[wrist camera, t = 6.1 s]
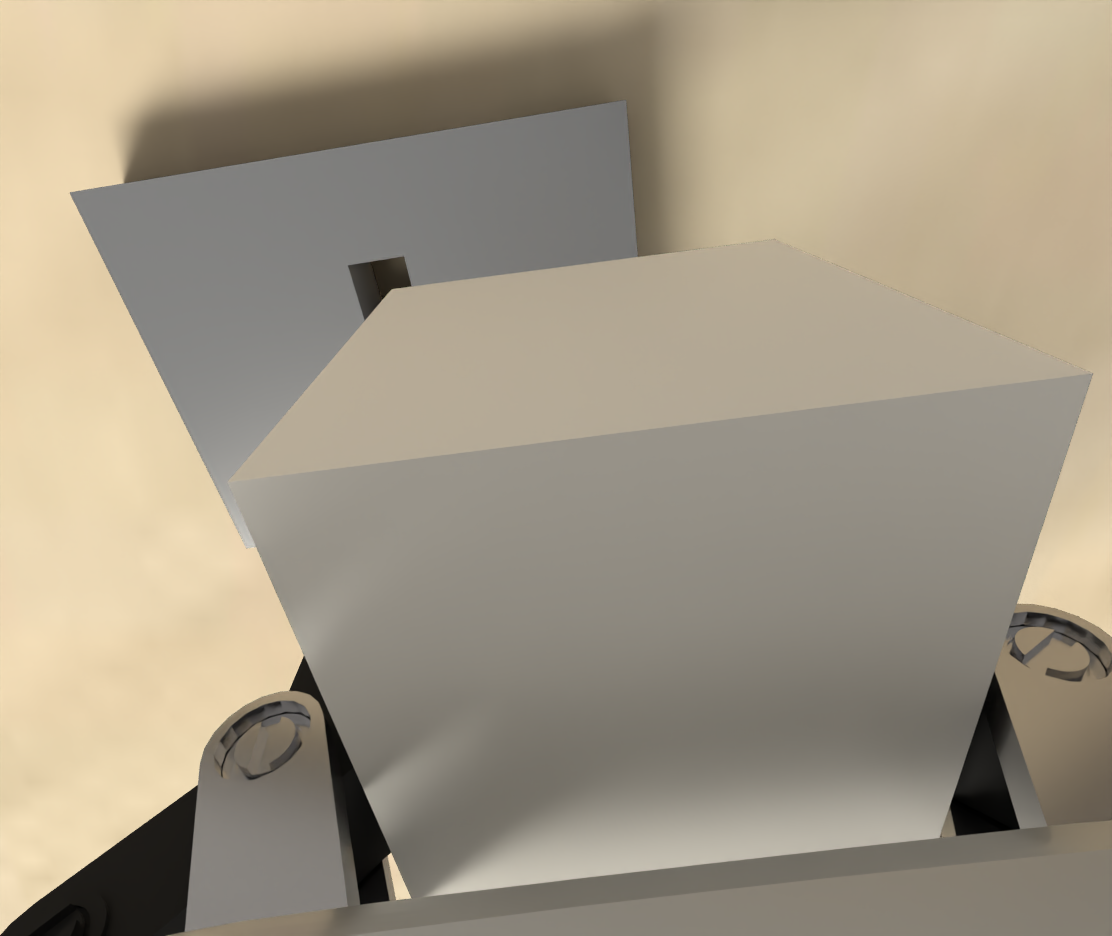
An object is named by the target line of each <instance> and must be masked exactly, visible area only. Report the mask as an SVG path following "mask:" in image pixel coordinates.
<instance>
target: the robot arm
mask: <svg viewBox="0 0 1112 936" xmlns="http://www.w3.org/2000/svg"><path fill="white" fill-rule="evenodd" d="M942 837H943V838H935V839H926V840H916V841H907V842H898V843H889V844H879V845H870V846H861V847H852V848H843V849H834V850H825V851H816V852H807V853H798V854H789V855H781V856H772V857H763V858H754V859H745V860H736V861H727V862H719V863H710V864H701V865H692V866H684V867H675V868H666V869H657V870H649V871H640V872H631V873H622V874H614V875H605V876H596V877H588V878H579V879H571V880H562V881H554V882H546V883H537V884H529V885H520V886H512V887H504V888H495V889H487V890H479V891H470V892H462V893H453V894H445V895H437V896H428V897H420V898H412V899H403V900H396V897H395V892H394V887H393V882H392V877H391V872H390V867H389V861H388V855H389V854H390V853H391V851H390V848H389V846H388V844H387V842H386V839H385V837H384V835H383V833H382V830H381V828H380V826H379V824H378V821H377V819H376V817H375V814H374V812H373V810H372V808H371V805H370V803H369V801H368V799H367V796H366V794H365V792H364V790H363V787H362V785H361V783H360V781H359V778H358V776H357V774H356V772H355V769H354V767H353V765H352V763H351V760H350V758H349V756H348V753H347V751H346V749H345V747H344V744H343V742H342V740H341V738H340V735H339V733H338V731H337V729H336V726H335V724H334V722H333V720H332V717H331V715H330V713H329V711H328V708H327V706H326V704H325V702H324V699H323V697H322V695H321V692H320V690H319V688H318V686H317V683H316V681H315V679H314V677H313V674H312V672H311V670H310V668H309V665H308V663H307V661H306V659H305V656H304V657H303V659H302V662H301V664H300V667H299V669H298V671H297V674H296V676H295V678H294V681H293V683H292V686H291V688H290V690H289V691H286V692H278V693H274V694H270V695H267V696H263V697H261V698H259V699H257V700H255V701H253V702H251V703H249V704H247V705H245V706H244V707H242V708H241V709H239V710H238V711H237V712H235V713H234V714H233V715H231V716H230V717H229V718H227V720H226V721H225V722H224V723H223V724H222V725H221V726H220V727H219V728H218V729H217V730H216V731H215V732H214V734H213V735H212V737H211V738H210V740H209V742H208V743H207V745H206V747H205V748H204V752H203V755H202V759H201V762H200V769H199V780H198V785H197V786H196V787H194V788H193V789H192V790H190V791H189V792H188V793H186V794H185V795H183V796H182V797H181V798H179V799H178V800H177V801H175V802H174V803H172V804H171V805H170V806H168V807H167V808H166V809H164V810H163V811H161V812H160V813H159V814H157V815H156V816H155V817H153V818H152V819H150V820H149V821H148V822H146V823H145V824H144V825H142V826H141V827H139V828H138V829H137V830H135V831H134V832H132V833H131V834H130V835H128V836H127V837H126V838H124V839H123V840H121V841H120V842H119V843H117V844H116V845H115V846H113V847H112V848H110V849H109V850H108V851H106V852H105V853H104V854H102V855H101V856H99V857H98V858H97V859H95V860H94V861H93V862H91V863H90V864H88V865H87V866H86V867H84V868H83V869H82V870H80V871H79V872H77V873H76V874H75V875H73V876H72V877H71V878H69V879H68V880H66V881H65V882H64V883H62V884H61V885H60V886H58V887H57V888H55V889H54V890H53V891H51V892H50V893H49V894H47V895H46V896H44V897H43V898H42V899H40V900H39V901H38V902H36V903H35V904H34V905H32V906H31V907H30V908H29V909H28V910H26V911H25V912H24V913H23V914H22V915H20V916H19V917H18V918H17V919H16V920H15V921H13V922H12V923H11V924H10V925H9V926H8V927H7V928H6V929H5V931H4V932H3V933H2V934H1V935H0V936H1112V637H1111V636H1110V635H1108V634H1107V633H1106V632H1104V631H1103V630H1102V629H1100V628H1099V627H1097V626H1095V625H1094V624H1092V623H1090V622H1088V621H1086V620H1084V619H1082V618H1080V617H1078V616H1076V615H1073V614H1070V613H1067V612H1064V611H1061V610H1058V609H1056V608H1050V607H1045V606H1040V605H1035V604H1017V605H1016V608H1015V611H1014V614H1013V617H1012V620H1011V623H1010V626H1009V629H1008V632H1007V635H1006V638H1005V641H1004V644H1003V647H1002V650H1001V653H1000V656H999V659H998V662H997V665H996V668H995V671H994V674H993V677H992V680H991V683H990V686H989V689H988V692H987V695H986V698H985V701H984V704H983V707H982V710H981V713H980V716H979V719H978V722H977V725H976V728H975V731H974V734H973V737H972V740H971V743H970V746H969V749H968V752H967V755H966V758H965V761H964V765H963V768H962V771H961V774H960V777H959V780H958V783H957V786H956V789H955V792H954V795H953V798H952V801H951V804H950V807H949V810H948V813H947V816H946V819H945V822H944V825H943V828H942Z"/></svg>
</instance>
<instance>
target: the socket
mask: <svg viewBox="0 0 1112 936" xmlns="http://www.w3.org/2000/svg"><path fill="white" fill-rule="evenodd" d="M70 195H71V197H72V199H73V201H74V203H75V205H76V207H77V209H78V211H79V213H80V215H81V217H82V219H83V221H84V223H85V225H86V227H87V229H88V231H89V233H90V235H91V237H92V239H93V241H94V243H95V245H96V247H97V249H98V251H99V253H100V255H101V257H102V259H103V261H104V263H105V265H106V267H107V269H108V271H109V273H110V275H111V277H112V279H113V281H114V283H115V285H116V287H117V289H118V291H119V293H120V295H121V297H122V299H123V301H124V303H125V305H126V307H127V309H128V311H129V313H130V315H131V317H132V319H133V321H134V323H135V325H136V327H137V329H138V331H139V333H140V335H141V337H142V339H143V341H144V343H145V345H146V347H147V349H148V351H149V353H150V355H151V357H152V359H153V361H154V363H155V366H156V368H157V370H158V372H159V374H160V376H161V378H162V380H163V382H164V384H165V386H166V388H167V390H168V392H169V394H170V396H171V398H172V400H173V402H174V404H175V406H176V408H177V410H178V412H179V414H180V416H181V418H182V420H183V422H184V424H185V426H186V428H187V430H188V432H189V434H190V436H191V438H192V440H193V442H194V444H195V446H196V448H197V450H198V452H199V454H200V456H201V458H202V460H203V462H204V464H205V466H206V468H207V470H208V472H209V474H210V476H211V478H212V480H213V482H214V484H215V486H216V488H217V490H218V492H219V494H220V496H221V498H222V500H223V502H224V504H225V506H226V508H227V510H228V512H229V514H230V516H231V518H232V520H233V522H234V524H235V526H236V528H237V530H238V532H239V534H240V536H241V539H242V541H243V543H244V545H245V547H246V548H252V547H256V546H255V543H254V541H253V539H252V537H251V534H250V532H249V530H248V528H247V525H246V523H245V521H244V519H243V516H242V514H241V512H240V510H239V507H238V505H237V503H236V500H235V498H234V496H233V494H232V491H231V489H230V487H229V485H228V481H229V480H230V479H231V477H232V476H233V475H234V474H235V473H236V472H237V470H238V469H239V468H240V467H241V466H242V465H243V463H244V462H245V461H246V460H247V459H248V458H249V456H250V455H251V454H252V453H253V452H254V450H255V449H256V448H257V447H258V446H259V445H260V443H261V442H262V441H263V440H264V439H265V438H266V436H267V435H268V434H269V433H270V432H271V430H272V429H273V428H274V427H275V426H276V425H277V423H278V422H279V421H280V420H281V419H282V418H283V416H284V415H285V414H286V413H287V412H288V410H289V409H290V408H291V407H292V406H293V405H294V403H295V402H296V401H297V400H298V399H299V398H300V396H301V395H302V394H303V393H304V392H305V391H306V389H307V388H308V387H309V386H310V385H311V383H312V382H313V381H314V380H315V379H316V378H317V376H318V375H319V374H320V373H321V372H322V371H323V369H324V368H325V367H326V366H327V365H328V364H329V362H330V361H331V360H332V359H333V358H334V356H335V355H336V354H337V353H338V352H339V351H340V349H341V348H342V347H343V346H344V345H345V344H346V342H347V341H348V340H349V339H350V338H351V336H352V335H353V334H354V333H355V332H356V331H357V329H358V328H359V327H360V326H361V325H362V324H363V322H364V321H365V320H366V319H367V318H368V317H369V315H370V314H371V313H372V312H373V311H374V309H375V308H376V307H377V306H378V305H379V304H380V302H381V301H382V300H381V297H380V293H379V290H378V286H377V283H376V279H375V276H374V272H373V269H372V265H371V262H372V261H378V260H384V259H390V258H397V257H403V256H404V258H405V262H406V266H407V270H408V274H409V278H410V282H411V286H420V285H427V284H435V283H443V282H450V281H458V280H466V279H473V278H481V277H489V276H496V275H504V274H512V273H519V272H527V271H535V270H542V269H550V268H558V267H565V266H573V265H581V264H588V263H596V262H604V261H611V260H619V259H627V258H634V257H638V253H637V240H636V226H635V213H634V199H633V186H632V172H631V159H630V145H629V132H628V118H627V105H626V100H622V101H616V102H610V103H604V104H598V105H592V106H586V107H580V108H574V109H568V110H562V111H556V112H550V113H544V114H538V115H532V116H526V117H520V118H514V119H508V120H502V121H496V122H490V123H484V124H478V125H472V126H466V127H460V128H454V129H448V130H442V131H436V132H430V133H424V134H418V135H412V136H406V137H400V138H394V139H388V140H382V141H376V142H370V143H364V144H358V145H352V146H346V147H340V148H334V149H328V150H322V151H316V152H310V153H304V154H298V155H292V156H286V157H280V158H274V159H268V160H262V161H256V162H250V163H244V164H238V165H232V166H226V167H220V168H214V169H208V170H202V171H196V172H190V173H184V174H178V175H172V176H166V177H160V178H154V179H148V180H142V181H136V182H130V183H124V184H118V185H112V186H106V187H100V188H94V189H88V190H82V191H76V192H70Z"/></svg>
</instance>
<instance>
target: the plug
mask: <svg viewBox="0 0 1112 936" xmlns="http://www.w3.org/2000/svg"><path fill="white" fill-rule="evenodd" d="M1092 375H1093V373H1091V372H1089V371H1086V370H1084V369H1081V368H1079V367H1077V366H1074V365H1072V364H1070V363H1067V362H1065V361H1062V360H1060V359H1058V358H1055V357H1053V356H1051V355H1048V354H1046V353H1043V352H1041V351H1039V350H1036V349H1034V348H1032V347H1029V346H1027V345H1025V344H1022V343H1020V342H1017V341H1015V340H1013V339H1010V338H1008V337H1006V336H1003V335H1001V334H998V333H996V332H994V331H991V330H989V329H987V328H984V327H982V326H980V325H977V324H975V323H972V322H970V321H968V320H965V319H963V318H961V317H958V316H956V315H953V314H951V313H949V312H946V311H944V310H942V309H939V308H937V307H935V306H932V305H930V304H927V303H925V302H923V301H920V300H918V299H916V298H913V297H911V296H908V295H906V294H904V293H901V292H899V291H897V290H894V289H892V288H889V287H887V286H885V285H882V284H880V283H878V282H875V281H873V280H871V279H868V278H866V277H863V276H861V275H859V274H856V273H854V272H852V271H849V270H847V269H844V268H842V267H840V266H837V265H835V264H833V263H830V262H828V261H826V260H823V259H821V258H818V257H816V256H814V255H811V254H809V253H807V252H804V251H802V250H799V249H797V248H795V247H792V246H790V245H788V244H785V243H783V242H781V241H778V240H776V239H772V240H765V241H757V242H749V243H742V244H734V245H726V246H719V247H711V248H703V249H696V250H688V251H680V252H673V253H665V254H657V255H650V256H642V257H634V258H627V259H619V260H611V261H604V262H596V263H588V264H581V265H573V266H565V267H558V268H550V269H542V270H535V271H527V272H519V273H512V274H504V275H496V276H489V277H481V278H473V279H466V280H458V281H450V282H443V283H435V284H427V285H420V286H412V287H404V288H397V289H391V291H390V292H389V293H388V294H387V295H386V297H385V298H384V299H383V300H382V301H381V302H380V304H379V305H378V306H377V307H376V308H375V309H374V311H373V312H372V313H371V314H370V315H369V317H368V318H367V319H366V320H365V321H364V322H363V324H362V325H361V326H360V327H359V328H358V329H357V331H356V332H355V333H354V334H353V335H352V336H351V338H350V339H349V340H348V341H347V342H346V344H345V345H344V346H343V347H342V348H341V349H340V351H339V352H338V353H337V354H336V355H335V356H334V358H333V359H332V360H331V361H330V362H329V364H328V365H327V366H326V367H325V368H324V369H323V371H322V372H321V373H320V374H319V375H318V376H317V378H316V379H315V380H314V381H313V382H312V383H311V385H310V386H309V387H308V388H307V389H306V391H305V392H304V393H303V394H302V395H301V396H300V398H299V399H298V400H297V401H296V402H295V403H294V405H293V406H292V407H291V408H290V409H289V410H288V412H287V413H286V414H285V415H284V416H283V418H282V419H281V420H280V421H279V422H278V423H277V425H276V426H275V427H274V428H273V429H272V430H271V432H270V433H269V434H268V435H267V436H266V438H265V439H264V440H263V441H262V442H261V443H260V445H259V446H258V447H257V448H256V449H255V450H254V452H253V453H252V454H251V455H250V456H249V458H248V459H247V460H246V461H245V462H244V463H243V465H242V466H241V467H240V468H239V469H238V470H237V472H236V473H235V474H234V475H233V476H232V477H231V479H230V480H229V481H228V485H229V487H230V489H231V491H232V494H233V496H234V498H235V500H236V503H237V505H238V507H239V510H240V512H241V514H242V516H243V519H244V521H245V523H246V525H247V528H248V530H249V532H250V534H251V537H252V539H253V541H254V543H255V546H256V548H257V550H258V552H259V555H260V557H261V559H262V561H263V564H264V566H265V568H266V571H267V573H268V575H269V577H270V580H271V582H272V584H273V586H274V589H275V591H276V593H277V595H278V598H279V600H280V602H281V604H282V607H283V609H284V611H285V613H286V616H287V618H288V620H289V622H290V625H291V627H292V629H293V631H294V634H295V636H296V638H297V641H298V643H299V645H300V647H301V650H302V652H303V654H304V656H305V659H306V661H307V663H308V665H309V668H310V670H311V672H312V674H313V677H314V679H315V681H316V683H317V686H318V688H319V690H320V692H321V695H322V697H323V699H324V702H325V704H326V706H327V708H328V711H329V713H330V715H331V717H332V720H333V722H334V724H335V726H336V729H337V731H338V733H339V735H340V738H341V740H342V742H343V744H344V747H345V749H346V751H347V753H348V756H349V758H350V760H351V763H352V765H353V767H354V769H355V772H356V774H357V776H358V778H359V781H360V783H361V785H362V787H363V790H364V792H365V794H366V796H367V799H368V801H369V803H370V805H371V808H372V810H373V812H374V814H375V817H376V819H377V821H378V824H379V826H380V828H381V830H382V833H383V835H384V837H385V839H386V842H387V844H388V846H389V848H390V851H391V853H392V855H393V857H394V860H395V862H396V864H397V866H398V869H399V871H400V873H401V875H402V878H403V880H404V882H405V885H406V887H407V889H408V891H409V894H410V896H411V898H420V897H428V896H437V895H445V894H453V893H462V892H470V891H479V890H487V889H495V888H504V887H512V886H520V885H529V884H537V883H546V882H554V881H562V880H571V879H579V878H588V877H596V876H605V875H614V874H622V873H631V872H640V871H649V870H657V869H666V868H675V867H684V866H692V865H701V864H710V863H719V862H727V861H736V860H745V859H754V858H763V857H772V856H781V855H789V854H798V853H807V852H816V851H825V850H834V849H843V848H852V847H861V846H870V845H879V844H889V843H898V842H907V841H916V840H926V839H935V838H939V837H940V834H941V831H942V828H943V825H944V822H945V819H946V816H947V813H948V810H949V807H950V804H951V801H952V798H953V795H954V792H955V789H956V786H957V783H958V780H959V777H960V774H961V771H962V768H963V765H964V761H965V758H966V755H967V752H968V749H969V746H970V743H971V740H972V737H973V734H974V731H975V728H976V725H977V722H978V719H979V716H980V713H981V710H982V707H983V704H984V701H985V698H986V695H987V692H988V689H989V686H990V683H991V680H992V677H993V674H994V671H995V668H996V665H997V662H998V659H999V656H1000V653H1001V650H1002V647H1003V644H1004V641H1005V638H1006V635H1007V632H1008V629H1009V626H1010V623H1011V620H1012V617H1013V614H1014V611H1015V608H1016V605H1017V602H1018V599H1019V595H1020V592H1021V589H1022V586H1023V583H1024V580H1025V577H1026V574H1027V571H1028V568H1029V565H1030V562H1031V559H1032V556H1033V553H1034V550H1035V547H1036V544H1037V541H1038V538H1039V535H1040V532H1041V529H1042V526H1043V523H1044V520H1045V517H1046V514H1047V511H1048V508H1049V505H1050V502H1051V499H1052V496H1053V493H1054V490H1055V487H1056V484H1057V481H1058V478H1059V475H1060V472H1061V469H1062V466H1063V463H1064V460H1065V457H1066V454H1067V451H1068V448H1069V445H1070V442H1071V439H1072V436H1073V433H1074V429H1075V426H1076V423H1077V420H1078V417H1079V414H1080V411H1081V408H1082V405H1083V402H1084V399H1085V396H1086V393H1087V390H1088V387H1089V384H1090V381H1091V378H1092Z"/></svg>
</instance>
